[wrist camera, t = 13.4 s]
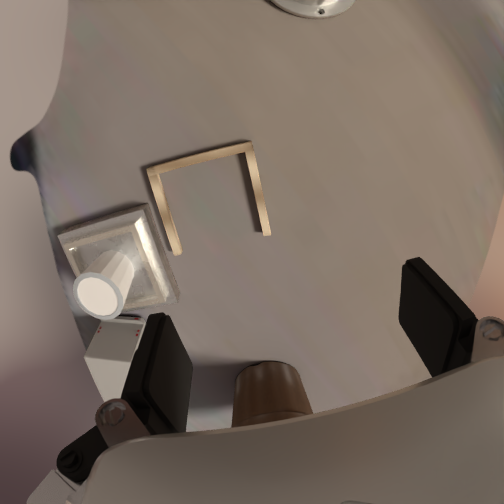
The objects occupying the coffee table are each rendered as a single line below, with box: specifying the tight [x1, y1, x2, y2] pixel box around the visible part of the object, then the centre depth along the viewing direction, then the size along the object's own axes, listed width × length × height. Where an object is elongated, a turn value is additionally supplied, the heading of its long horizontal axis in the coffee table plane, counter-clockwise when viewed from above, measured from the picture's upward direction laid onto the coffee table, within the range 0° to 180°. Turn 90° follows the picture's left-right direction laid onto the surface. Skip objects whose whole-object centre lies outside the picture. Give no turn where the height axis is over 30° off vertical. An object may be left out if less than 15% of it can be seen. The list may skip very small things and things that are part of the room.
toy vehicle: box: [84, 316, 146, 402], centre depth 45 cm, size 9×18×10 cm, turn 178°
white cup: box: [73, 250, 134, 320], centre depth 36 cm, size 7×7×7 cm
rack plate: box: [58, 203, 180, 312], centre depth 40 cm, size 14×14×4 cm
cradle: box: [146, 141, 271, 256], centre depth 38 cm, size 12×13×1 cm
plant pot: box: [231, 361, 313, 428], centre depth 47 cm, size 16×16×16 cm
